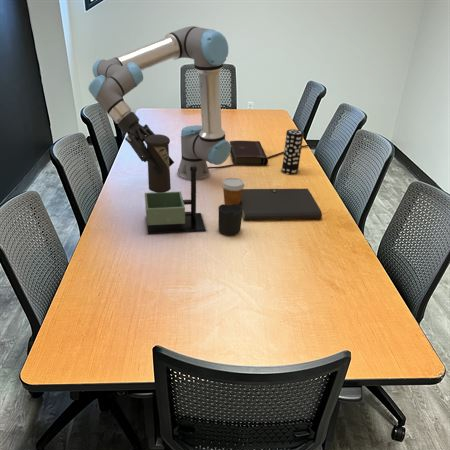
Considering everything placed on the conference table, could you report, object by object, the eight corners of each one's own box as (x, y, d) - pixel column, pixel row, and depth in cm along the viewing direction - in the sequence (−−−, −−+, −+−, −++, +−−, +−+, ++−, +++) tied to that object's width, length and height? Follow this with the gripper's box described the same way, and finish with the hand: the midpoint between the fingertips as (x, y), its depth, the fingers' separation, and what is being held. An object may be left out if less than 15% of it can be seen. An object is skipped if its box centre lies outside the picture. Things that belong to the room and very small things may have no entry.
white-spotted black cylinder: (279, 172, 233) (284, 133, 221) (284, 167, 239) (289, 128, 227) (295, 175, 231) (301, 135, 219) (299, 170, 237) (305, 131, 225)
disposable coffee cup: (245, 205, 202) (247, 179, 195) (238, 214, 195) (240, 188, 187) (225, 201, 204) (226, 175, 197) (217, 210, 197) (218, 184, 190)
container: (167, 194, 172) (165, 141, 160) (144, 191, 173) (141, 138, 161) (174, 185, 179) (172, 134, 167) (152, 182, 180) (149, 131, 168)
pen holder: (233, 239, 178) (234, 216, 172) (213, 232, 182) (213, 209, 176) (245, 229, 184) (247, 207, 178) (225, 223, 188) (226, 200, 182)
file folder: (307, 187, 210) (322, 212, 191) (306, 195, 213) (320, 221, 194) (237, 188, 206) (244, 213, 188) (236, 196, 209) (244, 222, 190)
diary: (260, 149, 259) (260, 140, 256) (267, 166, 240) (268, 156, 237) (227, 149, 257) (227, 140, 254) (232, 166, 238) (233, 156, 235)
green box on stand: (200, 214, 193) (201, 158, 178) (205, 231, 182) (206, 172, 167) (146, 217, 189) (142, 159, 175) (148, 234, 178) (143, 174, 163)
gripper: (132, 116, 174) (172, 164, 180) (103, 132, 159) (148, 184, 165) (144, 104, 170) (184, 153, 176) (115, 118, 154) (160, 172, 160)
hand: (166, 168), depth 170 cm, fingers closed on container, 8 cm apart
